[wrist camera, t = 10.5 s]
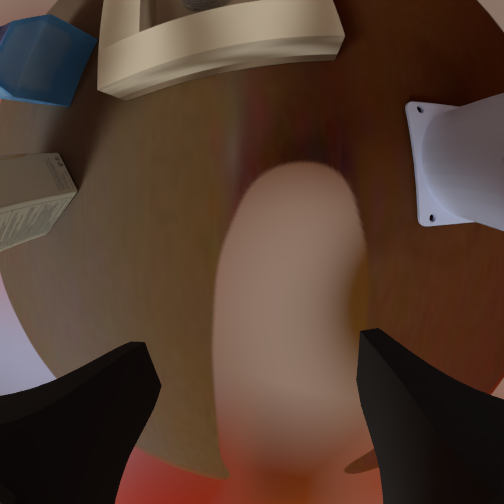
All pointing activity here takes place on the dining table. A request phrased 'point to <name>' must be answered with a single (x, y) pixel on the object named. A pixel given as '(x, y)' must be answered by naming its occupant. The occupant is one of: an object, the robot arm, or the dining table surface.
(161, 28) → the socket block
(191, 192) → the dining table surface
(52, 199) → the skincare box
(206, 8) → the metal pin
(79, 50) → the perfume bottle
